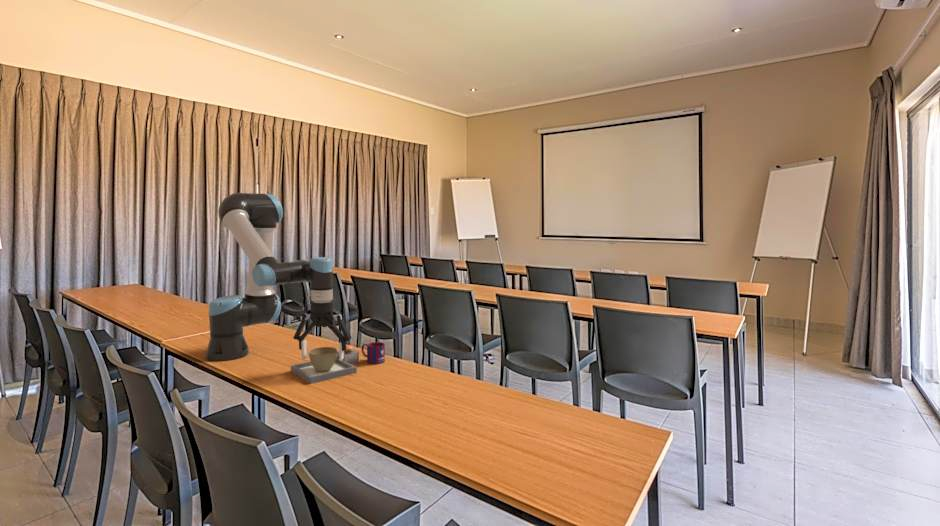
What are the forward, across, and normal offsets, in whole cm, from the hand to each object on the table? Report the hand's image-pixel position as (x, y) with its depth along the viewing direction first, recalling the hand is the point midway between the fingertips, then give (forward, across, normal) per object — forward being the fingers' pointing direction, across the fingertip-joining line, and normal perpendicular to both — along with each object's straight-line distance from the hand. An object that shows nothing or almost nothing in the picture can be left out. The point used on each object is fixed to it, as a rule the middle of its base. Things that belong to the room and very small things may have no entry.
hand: (322, 358), depth 166 cm
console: (+5, +6, +11) cm, 14 cm away
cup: (+5, +15, +14) cm, 21 cm away
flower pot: (+4, 0, 0) cm, 4 cm away
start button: (+2, +6, +11) cm, 13 cm away
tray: (+5, 0, 0) cm, 5 cm away
